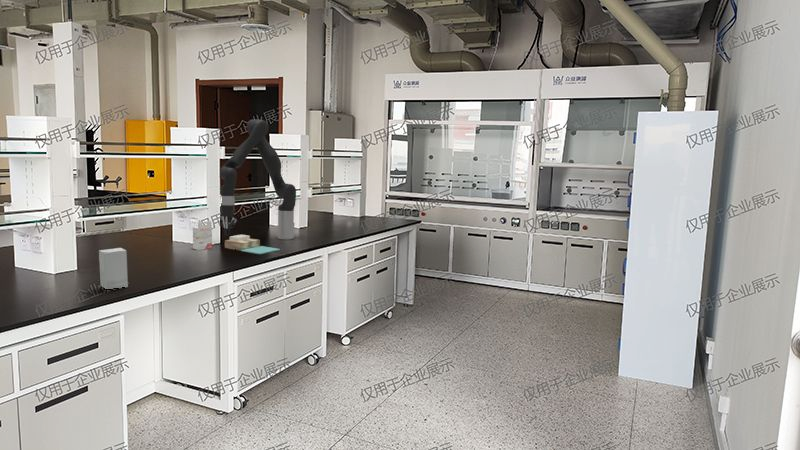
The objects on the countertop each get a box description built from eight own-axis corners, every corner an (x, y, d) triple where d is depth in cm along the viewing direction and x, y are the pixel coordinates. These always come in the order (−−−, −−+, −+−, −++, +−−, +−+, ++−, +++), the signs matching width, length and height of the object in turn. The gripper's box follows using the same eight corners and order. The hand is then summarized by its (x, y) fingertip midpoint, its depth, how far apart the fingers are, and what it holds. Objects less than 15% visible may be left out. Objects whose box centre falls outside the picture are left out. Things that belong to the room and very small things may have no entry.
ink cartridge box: (206, 246, 299) (206, 219, 297) (212, 248, 296) (212, 221, 294) (192, 248, 293) (192, 221, 291) (197, 250, 290) (197, 222, 288)
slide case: (241, 238, 309) (241, 234, 308) (249, 239, 306) (249, 235, 306) (229, 240, 301) (229, 236, 300) (237, 241, 298) (238, 237, 298)
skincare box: (122, 284, 217) (121, 247, 215) (128, 287, 213) (127, 249, 211) (99, 287, 211) (98, 249, 209) (105, 291, 207) (104, 252, 205)
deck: (243, 244, 312) (243, 237, 311) (259, 247, 306) (259, 239, 306) (224, 247, 299) (224, 240, 299) (241, 250, 294) (241, 243, 293)
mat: (261, 246, 307) (261, 245, 307) (280, 249, 301) (280, 248, 301) (241, 251, 293) (241, 250, 293) (260, 254, 287) (260, 253, 287)
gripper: (241, 204, 305) (241, 235, 307) (223, 202, 311) (223, 233, 313) (231, 205, 298) (231, 237, 301) (213, 203, 304) (213, 234, 307)
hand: (227, 235), depth 307 cm, fingers closed
